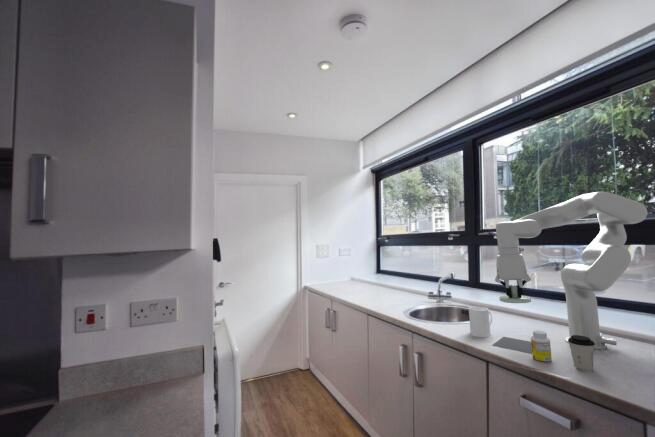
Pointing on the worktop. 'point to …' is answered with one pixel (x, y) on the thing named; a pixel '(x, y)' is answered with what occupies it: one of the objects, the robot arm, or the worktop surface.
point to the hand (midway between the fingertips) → (514, 296)
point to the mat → (514, 344)
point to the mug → (480, 321)
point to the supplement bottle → (541, 347)
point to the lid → (515, 296)
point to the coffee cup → (582, 352)
